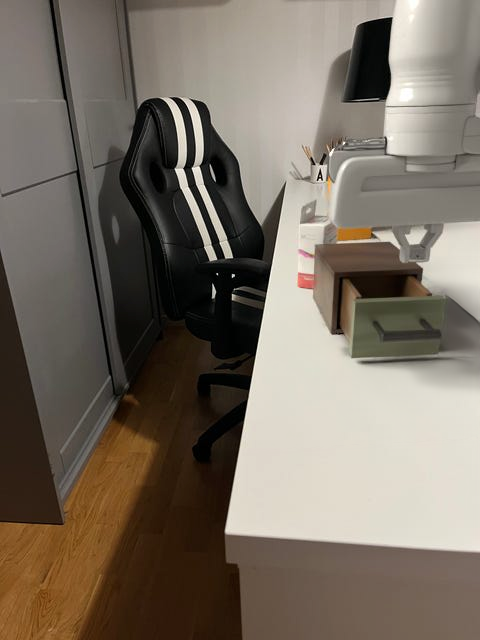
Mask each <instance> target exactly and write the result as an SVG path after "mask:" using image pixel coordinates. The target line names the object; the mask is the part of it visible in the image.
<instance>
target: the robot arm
mask: <svg viewBox="0 0 480 640" xmlns="http://www.w3.org/2000/svg"><path fill="white" fill-rule="evenodd" d="M390 29H391V30H390V39H389V50H388V64H389V69H390V74H391V75H390V87H389V91H388V94H387V97H386V101H385V109H384V120H383V122H384V123H383V136H382V137H381V136H380V137H379V136H378V137H368V138H362V139H356V138H348V139H343V140H342V142H341V143H339V144H337V145H336V146H333V148H332V149H331V151H330V152H329V154H328V157H327V176H329V178H330V180H331V185H330V191H329V198H328V197H327V198H328V208H327V207H326V216H328V218H329V220H330V221H331V222H332V224H334V225H335V226H336V227H337V228H339V229H351V228H369V227H371V228H384V227H385V228H386V227H391V232H392V234H393V237H394V238H395V240H396V242H397V244H398V246H399V249H400V254H399V258H400V261H401V262H402V263H413V262H416V263H428V262H429V261H430V258H431V257H430V256H431V249H433V247H434V245H435V244H436V242H438V240H439V238H440V237H441V236H442V235H443V233H444V224H455V223H458V224H459V223H475V222H480V116H477V114H476V112H477V111H476V110H477V103H478V95H480V0H395V2H394V7H393V14H392V21H391V28H390ZM339 149H342V150H339ZM421 225H423V229H424V230H425V231H426V232H425V233H424V236H423V237H422V238H421V240H420V241H419V243H413V244H410V243H409V241H408V238H407V237H406V235H410V234H411V229H412V226H421Z"/></svg>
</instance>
